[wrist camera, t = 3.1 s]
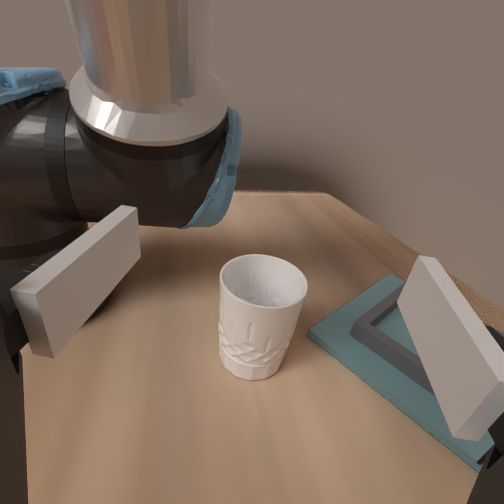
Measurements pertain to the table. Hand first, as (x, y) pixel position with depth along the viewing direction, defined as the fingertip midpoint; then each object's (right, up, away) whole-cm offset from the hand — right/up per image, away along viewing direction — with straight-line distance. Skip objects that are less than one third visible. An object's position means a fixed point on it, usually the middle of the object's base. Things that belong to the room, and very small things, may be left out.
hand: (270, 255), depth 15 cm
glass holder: (+20, -11, +22) cm, 31 cm away
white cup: (-1, -11, +18) cm, 21 cm away
